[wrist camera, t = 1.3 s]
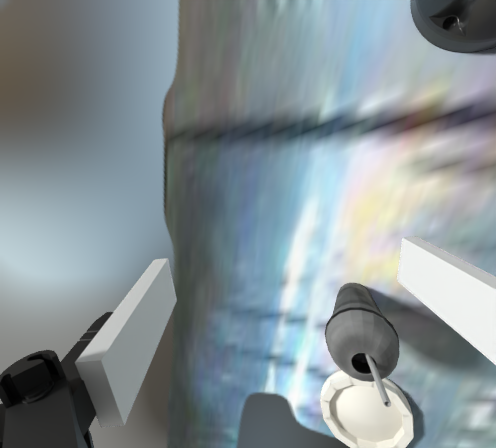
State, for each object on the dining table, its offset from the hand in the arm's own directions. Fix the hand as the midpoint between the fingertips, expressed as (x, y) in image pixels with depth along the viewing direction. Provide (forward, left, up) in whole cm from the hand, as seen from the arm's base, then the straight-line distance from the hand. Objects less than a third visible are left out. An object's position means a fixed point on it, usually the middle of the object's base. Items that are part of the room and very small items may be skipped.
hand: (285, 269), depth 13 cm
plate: (-4, +30, -25) cm, 39 cm away
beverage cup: (-4, +12, -25) cm, 28 cm away
